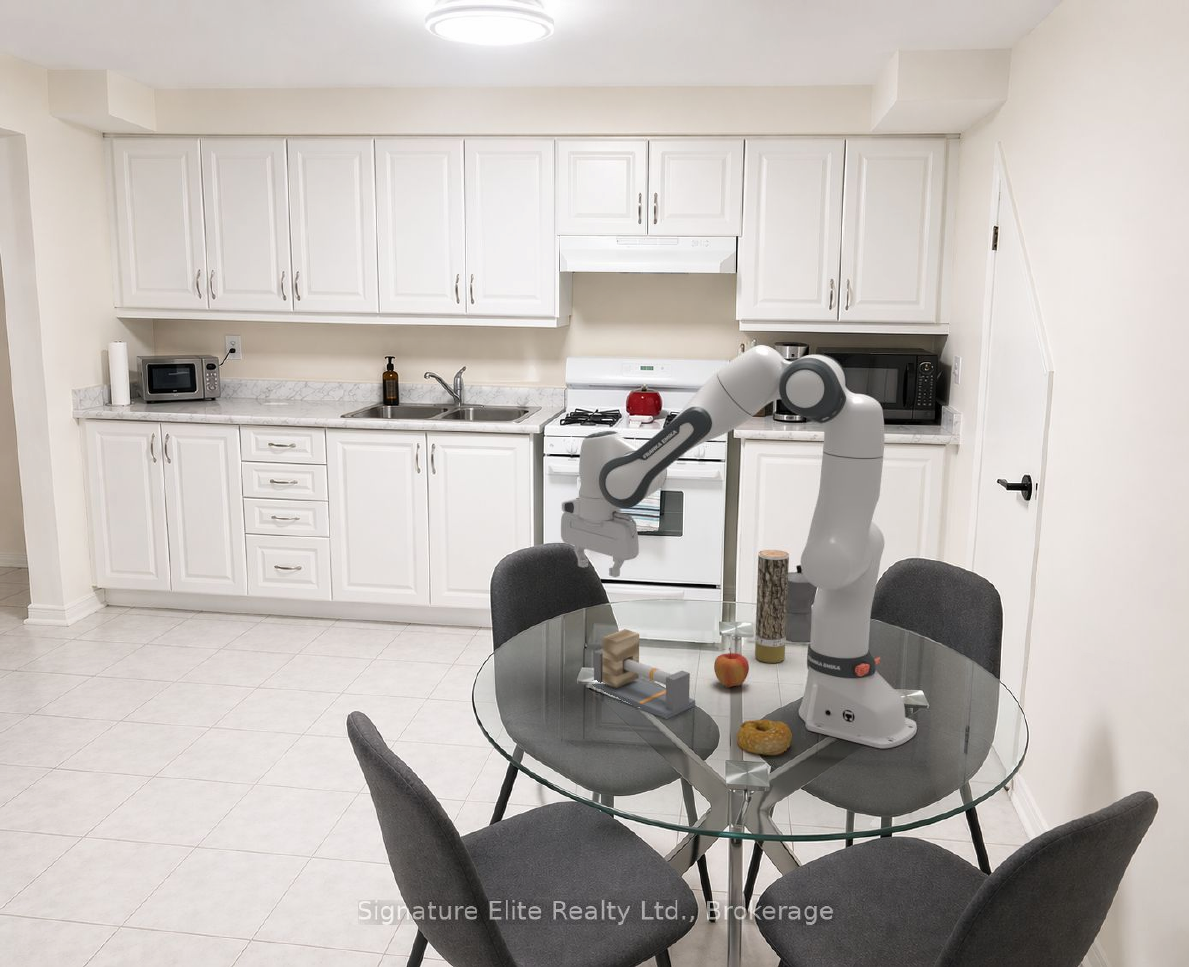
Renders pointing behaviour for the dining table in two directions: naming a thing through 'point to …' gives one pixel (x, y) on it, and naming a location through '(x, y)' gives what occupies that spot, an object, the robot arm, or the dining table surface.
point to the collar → (619, 657)
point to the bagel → (764, 737)
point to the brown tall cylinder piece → (771, 605)
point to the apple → (731, 669)
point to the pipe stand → (649, 688)
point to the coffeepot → (799, 606)
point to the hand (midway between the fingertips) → (598, 571)
